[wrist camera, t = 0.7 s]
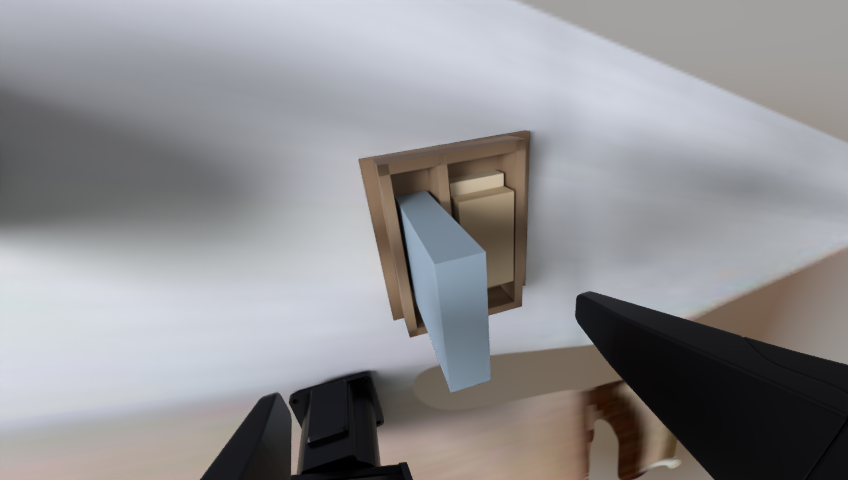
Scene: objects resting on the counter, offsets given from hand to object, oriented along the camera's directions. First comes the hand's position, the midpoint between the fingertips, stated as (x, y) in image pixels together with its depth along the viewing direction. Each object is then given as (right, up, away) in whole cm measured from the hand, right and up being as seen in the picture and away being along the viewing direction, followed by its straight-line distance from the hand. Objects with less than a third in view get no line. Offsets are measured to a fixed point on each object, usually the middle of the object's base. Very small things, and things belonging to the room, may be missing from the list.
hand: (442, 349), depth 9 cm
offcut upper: (+3, +3, +11) cm, 12 cm away
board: (-1, +3, +12) cm, 12 cm away
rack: (+2, +4, +13) cm, 14 cm away
